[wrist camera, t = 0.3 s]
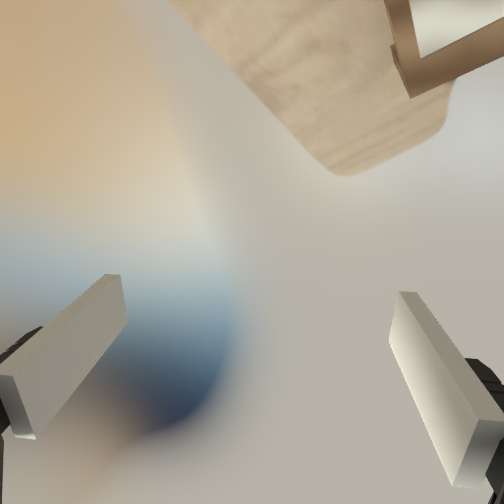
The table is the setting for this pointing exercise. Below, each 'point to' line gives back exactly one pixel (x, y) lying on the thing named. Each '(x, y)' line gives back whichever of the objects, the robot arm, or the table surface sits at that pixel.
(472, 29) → the walnut shelf
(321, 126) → the table surface
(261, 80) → the table surface
